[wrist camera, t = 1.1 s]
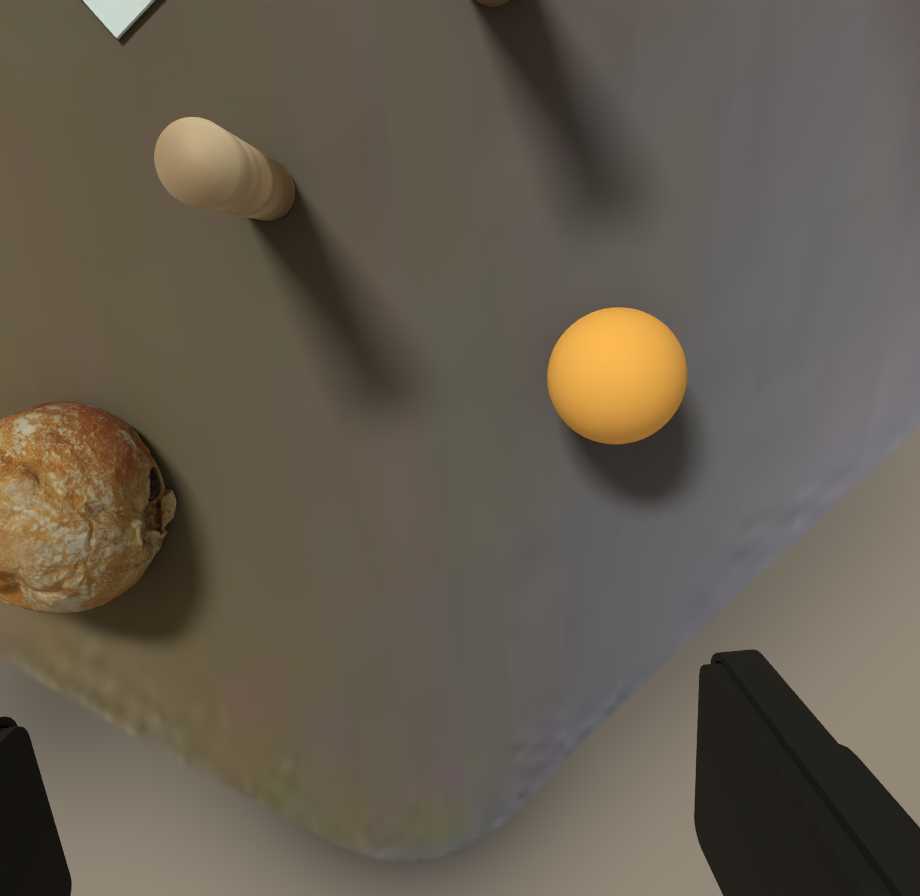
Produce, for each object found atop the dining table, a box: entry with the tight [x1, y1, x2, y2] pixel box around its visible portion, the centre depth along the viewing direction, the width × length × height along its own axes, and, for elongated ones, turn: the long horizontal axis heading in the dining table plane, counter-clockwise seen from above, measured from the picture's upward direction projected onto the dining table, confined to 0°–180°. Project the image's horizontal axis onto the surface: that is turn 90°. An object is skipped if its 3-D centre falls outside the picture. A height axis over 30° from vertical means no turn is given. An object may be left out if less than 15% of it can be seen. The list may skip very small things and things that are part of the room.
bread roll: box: [0, 401, 176, 613], centre depth 31 cm, size 10×10×8 cm
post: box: [154, 117, 295, 221], centre depth 25 cm, size 3×3×9 cm
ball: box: [547, 307, 687, 444], centre depth 29 cm, size 6×6×6 cm
